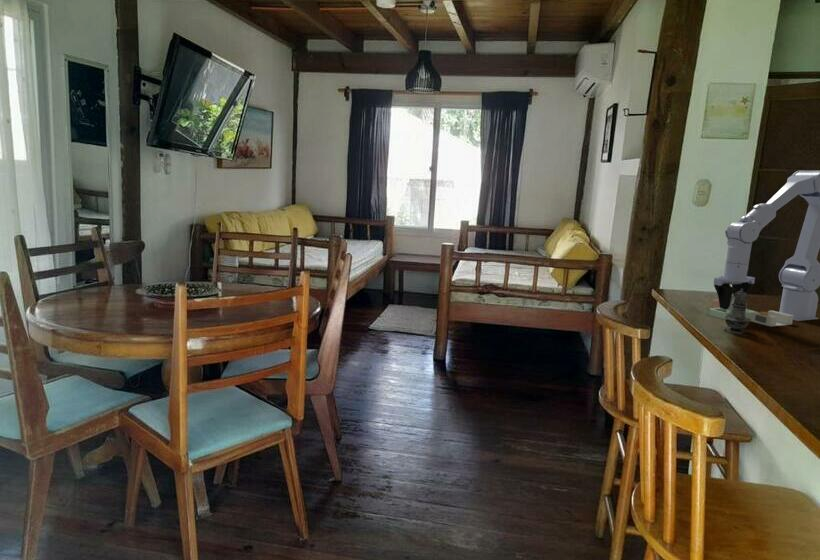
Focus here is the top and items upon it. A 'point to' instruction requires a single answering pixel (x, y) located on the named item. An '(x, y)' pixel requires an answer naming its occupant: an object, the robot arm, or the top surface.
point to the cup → (716, 304)
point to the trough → (720, 314)
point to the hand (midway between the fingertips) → (730, 308)
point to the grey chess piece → (738, 314)
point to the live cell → (729, 305)
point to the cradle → (771, 318)
